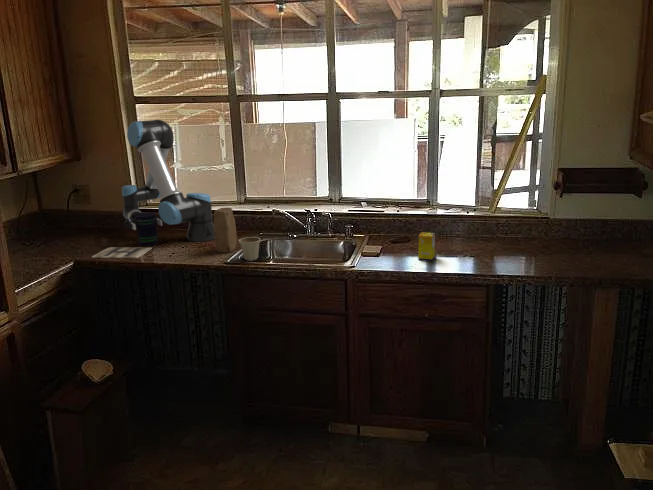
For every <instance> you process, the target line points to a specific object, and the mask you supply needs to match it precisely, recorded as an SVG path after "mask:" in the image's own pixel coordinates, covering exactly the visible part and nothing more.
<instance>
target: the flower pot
mask: <svg viewBox="0 0 653 490" xmlns="http://www.w3.org/2000/svg"><path fill="white" fill-rule="evenodd" d="M238 242H239V244H240V247H241V251H242V254H243V259H244V260H245V261H248V260H249V261H255V260H257V259H259V246H260V243H261V238H260V237H256V236H249V237H243V238H240V239H239V240H238Z"/></svg>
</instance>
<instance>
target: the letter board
mask: <svg viewBox="0 0 653 490" xmlns="http://www.w3.org/2000/svg"><path fill="white" fill-rule="evenodd" d="M152 249H153V247H145V246H140V247H138V246H137V247H133V246H132V247H128V246H127V247H126V246H125V247H121V246H118V247H117V246H116V247H114V246H111V247H107V248H104V249H103V250H102V251H101V250H100V251H99V252H98V253H96V254H94V255H92V256H91V258H92V259H97V258H98V259H138V258H140V257H142V256H143V255H144V254H146V253H147V252H149V251H150V250H152Z"/></svg>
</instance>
